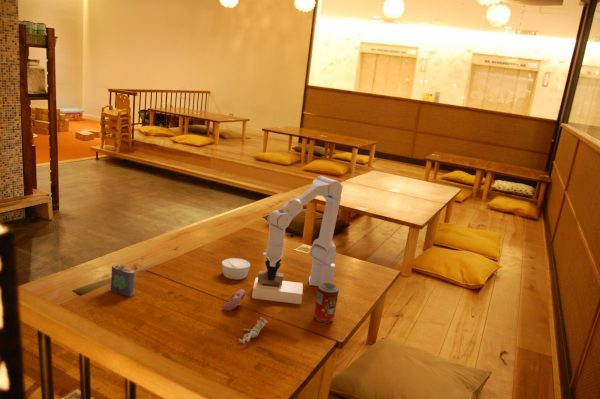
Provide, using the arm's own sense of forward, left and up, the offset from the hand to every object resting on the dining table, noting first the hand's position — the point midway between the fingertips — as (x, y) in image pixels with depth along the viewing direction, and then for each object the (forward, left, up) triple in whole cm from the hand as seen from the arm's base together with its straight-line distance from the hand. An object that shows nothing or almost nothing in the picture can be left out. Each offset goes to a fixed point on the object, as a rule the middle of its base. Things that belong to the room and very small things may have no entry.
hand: (271, 277), depth 176 cm
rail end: (0, 0, -5) cm, 5 cm away
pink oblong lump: (+11, +13, -7) cm, 18 cm away
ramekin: (+15, -14, -7) cm, 22 cm away
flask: (+50, +14, -7) cm, 52 cm away
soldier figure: (+3, +32, -7) cm, 32 cm away
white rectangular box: (-3, 0, -7) cm, 7 cm away
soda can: (-20, +14, -7) cm, 25 cm away
